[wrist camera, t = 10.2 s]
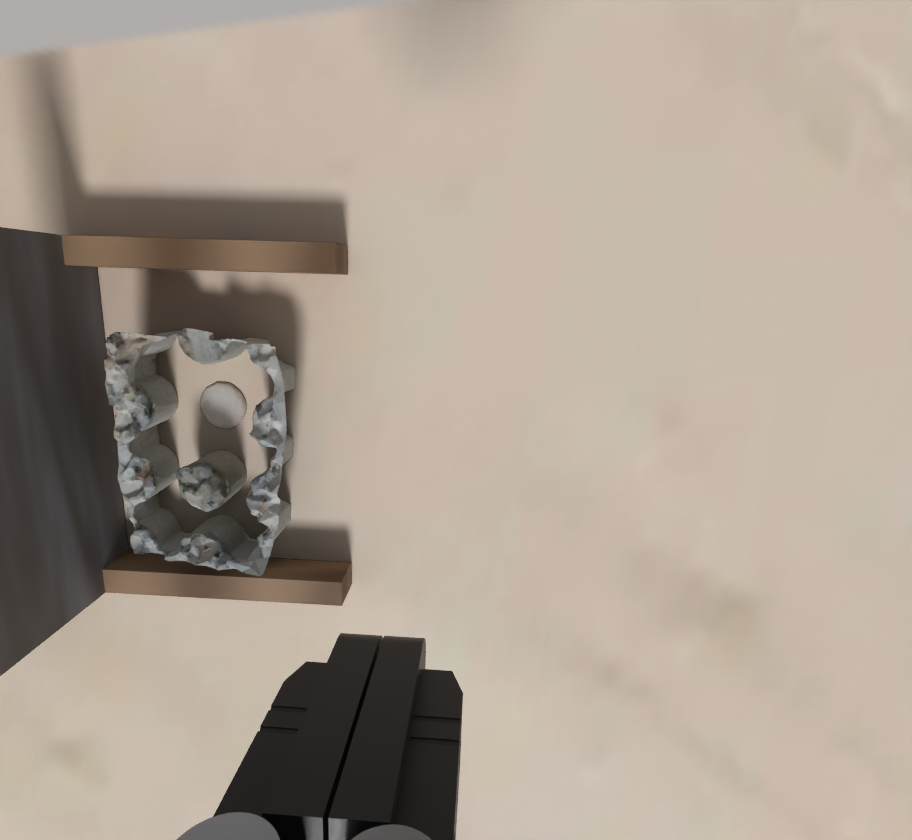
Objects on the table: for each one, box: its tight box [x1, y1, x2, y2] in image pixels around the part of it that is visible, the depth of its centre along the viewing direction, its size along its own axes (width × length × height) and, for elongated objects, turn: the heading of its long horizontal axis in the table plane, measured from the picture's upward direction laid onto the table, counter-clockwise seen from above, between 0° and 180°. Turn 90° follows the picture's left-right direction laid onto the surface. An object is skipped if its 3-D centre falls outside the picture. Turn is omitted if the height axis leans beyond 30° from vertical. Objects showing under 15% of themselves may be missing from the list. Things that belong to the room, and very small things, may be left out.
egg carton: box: [104, 328, 296, 576], centre depth 25 cm, size 11×8×4 cm
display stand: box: [0, 227, 352, 676], centre depth 23 cm, size 13×16×8 cm
